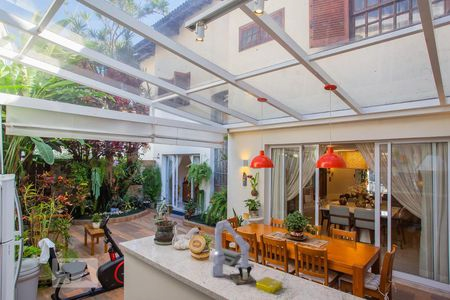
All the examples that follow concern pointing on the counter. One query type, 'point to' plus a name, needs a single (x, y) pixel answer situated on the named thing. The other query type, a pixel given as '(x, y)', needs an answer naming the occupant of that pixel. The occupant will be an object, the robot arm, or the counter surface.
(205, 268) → the counter surface
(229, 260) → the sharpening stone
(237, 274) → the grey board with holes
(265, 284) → the element tile
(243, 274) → the steel peg
